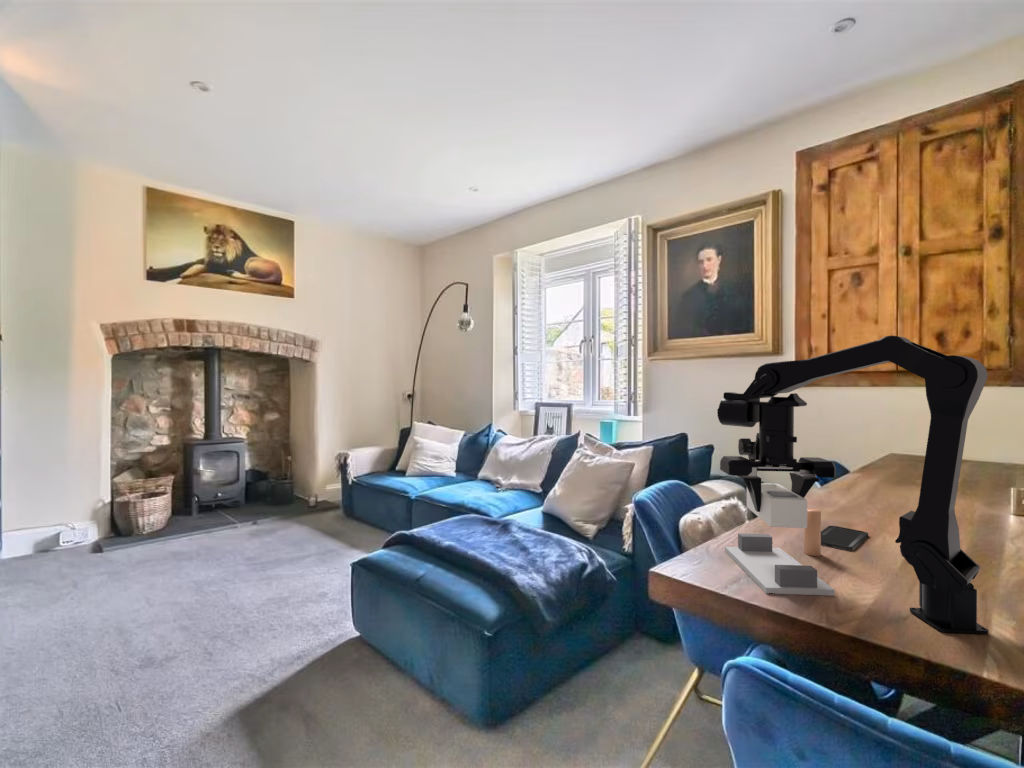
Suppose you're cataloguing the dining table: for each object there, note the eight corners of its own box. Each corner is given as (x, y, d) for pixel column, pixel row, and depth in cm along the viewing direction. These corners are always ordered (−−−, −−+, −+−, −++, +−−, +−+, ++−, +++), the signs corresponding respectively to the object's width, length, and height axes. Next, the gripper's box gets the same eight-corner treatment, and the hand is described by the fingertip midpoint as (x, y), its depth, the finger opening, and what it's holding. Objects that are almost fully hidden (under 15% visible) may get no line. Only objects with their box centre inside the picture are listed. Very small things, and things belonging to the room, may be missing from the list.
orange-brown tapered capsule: (823, 556, 98) (824, 512, 98) (808, 556, 98) (808, 512, 98) (815, 551, 101) (816, 508, 101) (800, 550, 101) (801, 508, 101)
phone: (869, 532, 111) (852, 547, 101) (869, 537, 111) (852, 553, 101) (829, 524, 117) (809, 538, 107) (829, 529, 117) (809, 543, 107)
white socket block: (807, 528, 85) (807, 498, 85) (770, 526, 86) (770, 497, 85) (778, 508, 97) (778, 482, 97) (746, 507, 98) (746, 481, 98)
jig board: (834, 595, 81) (834, 571, 80) (766, 593, 82) (766, 569, 82) (779, 552, 100) (779, 533, 100) (724, 551, 101) (724, 532, 101)
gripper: (806, 425, 98) (806, 502, 98) (711, 424, 100) (711, 499, 100) (838, 432, 87) (837, 518, 87) (730, 430, 89) (729, 515, 89)
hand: (775, 511), depth 91 cm, fingers closed on white socket block, 6 cm apart
